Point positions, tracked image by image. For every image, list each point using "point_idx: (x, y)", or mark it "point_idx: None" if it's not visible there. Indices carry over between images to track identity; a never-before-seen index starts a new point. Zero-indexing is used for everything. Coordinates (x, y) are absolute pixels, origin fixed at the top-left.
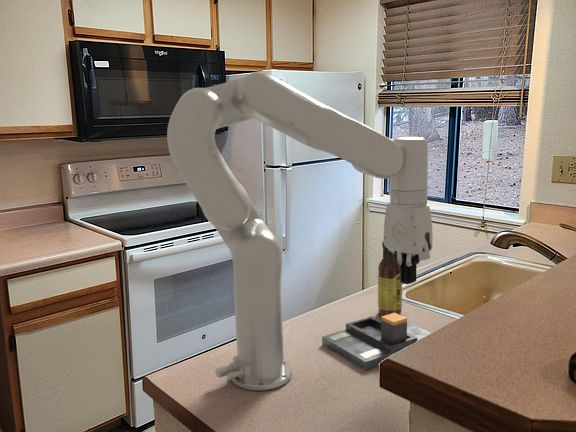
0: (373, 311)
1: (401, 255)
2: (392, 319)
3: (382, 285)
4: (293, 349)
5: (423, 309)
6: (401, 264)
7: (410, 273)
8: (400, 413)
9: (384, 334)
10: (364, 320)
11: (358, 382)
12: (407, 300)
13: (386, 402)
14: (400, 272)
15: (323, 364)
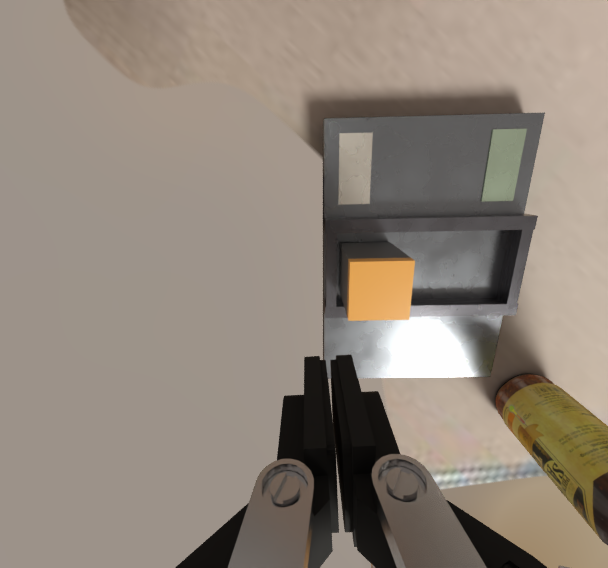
0: (564, 375)
1: (403, 566)
2: (370, 274)
3: (603, 440)
4: (573, 8)
5: (477, 463)
6: (392, 465)
7: (285, 425)
8: (108, 50)
9: (382, 247)
10: (510, 281)
11: (284, 60)
12: (541, 473)
13: (165, 55)
14: (361, 395)
15: (427, 35)
